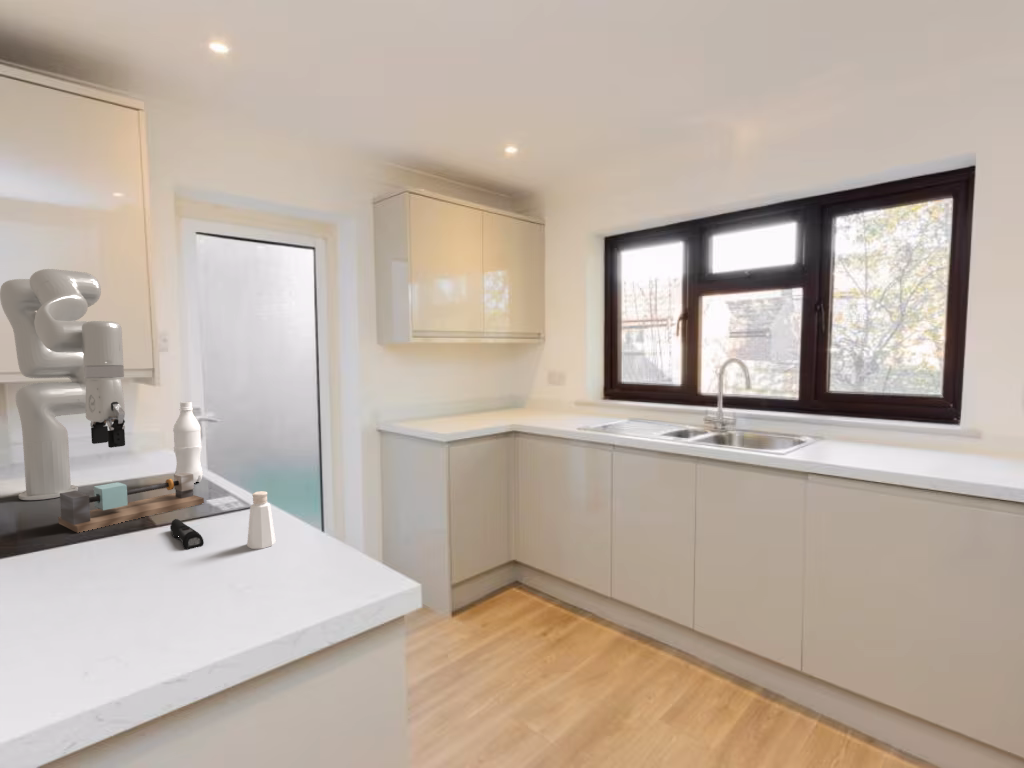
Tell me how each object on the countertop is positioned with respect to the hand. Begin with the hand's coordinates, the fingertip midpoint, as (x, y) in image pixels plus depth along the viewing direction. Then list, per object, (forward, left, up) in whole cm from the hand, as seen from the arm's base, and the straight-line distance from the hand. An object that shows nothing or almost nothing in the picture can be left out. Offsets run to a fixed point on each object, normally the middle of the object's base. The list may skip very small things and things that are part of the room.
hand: (108, 444), depth 127 cm
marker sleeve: (0, 0, -15) cm, 15 cm away
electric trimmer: (+30, +3, -19) cm, 35 cm away
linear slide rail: (0, +5, -18) cm, 19 cm away
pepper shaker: (+47, +10, -18) cm, 51 cm away
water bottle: (-20, +27, -18) cm, 38 cm away
